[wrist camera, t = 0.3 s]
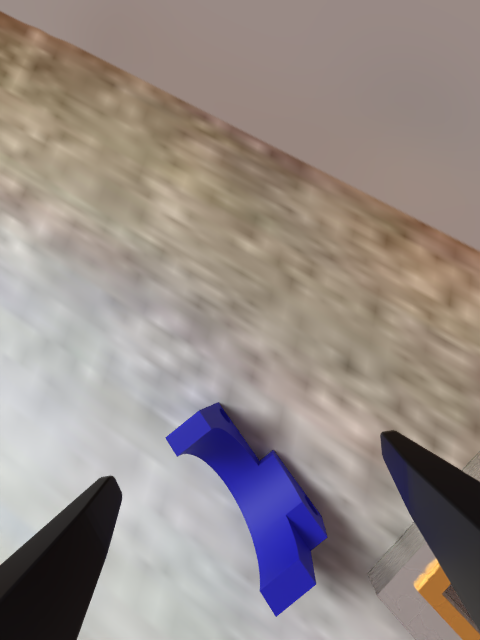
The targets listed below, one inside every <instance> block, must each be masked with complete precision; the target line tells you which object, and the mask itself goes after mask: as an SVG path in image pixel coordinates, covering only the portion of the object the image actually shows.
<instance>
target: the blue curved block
mask: <svg viewBox="0 0 480 640" xmlns="http://www.w3.org/2000/svg"><path fill="white" fill-rule="evenodd" d="M166 440H167V441H168V443H169V444H170V446H171V448H172V449H173V451H174V452H175V454H176V456H177V457H178V456H179V455H182V454H191V455H194V456H197V457H199V458H200V459H202V460H203V461H205V462H206V463H207V464H208V465H209V466H210V467H212V468H213V470H214V471H215V472H216V473H217V474H218V475H219V476H220V477H221V479H222V480H223V481H224V483H225V484H226V486H227V487H228V489H229V490H230V492H231V493H232V495H233V497H234V498H235V500H236V502H237V504H238V506H239V508H240V510H241V512H242V514H243V516H244V518H245V521H246V523H247V525H248V528H249V531H250V533H251V536H252V539H253V543H254V546H255V550H256V554H257V559H258V564H259V572H260V592H261V594H262V595H263V597H264V598H265V600H266V602H267V603H268V605H269V606H270V608H271V610H272V611H273V613H274V615H275V616H276V617H277V616H278V615H279V614H280V613H281V612H283V611H284V610H285V609H286V608H288V607H289V606H290V605H291V604H293V603H294V602H295V601H296V600H297V599H299V598H300V597H301V596H302V595H304V594H305V593H306V592H307V591H309V590H310V589H311V588H312V587H313V586H315V585H316V580H315V574H314V568H313V562H312V556H311V550H312V549H314V548H315V547H316V546H317V545H319V544H320V543H321V542H322V541H323V540H325V539H326V538H327V533H326V530H325V526H324V523H323V519H322V516H321V515H320V513H319V512H318V510H317V509H316V508H315V506H314V505H313V504H312V502H311V501H310V499H309V498H308V497H307V495H306V494H305V493H304V491H303V490H302V488H301V487H300V486H299V484H298V483H297V482H296V480H295V479H294V477H293V476H292V475H291V473H290V472H289V471H288V469H287V468H286V466H285V465H284V464H283V462H282V461H281V460H280V458H279V457H278V455H277V454H276V453H275V451H274V450H272V451H271V452H270V453H269V454H268V455H266V456H265V457H264V458H263V459H261V460H260V461H259V459H258V458H257V456H256V455H255V453H254V452H253V451H252V449H251V448H250V446H249V445H248V444H247V442H246V441H245V439H244V438H243V436H242V435H241V434H240V432H239V431H238V429H237V428H236V426H235V425H234V424H233V422H232V421H231V419H230V418H229V417H228V415H227V414H226V412H225V411H224V409H223V408H222V407H221V405H220V404H219V402H218V403H215V404H213V405H211V406H209V407H206V408H204V409H202V410H199V411H198V412H197V413H195V414H194V415H193V416H192V417H190V418H189V419H188V420H187V421H185V422H184V423H183V424H182V425H181V426H179V427H178V428H177V429H176V430H174V431H173V432H172V433H171V434H169V435H168V436H167V437H166Z"/></svg>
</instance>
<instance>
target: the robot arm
mask: <svg viewBox="0 0 480 640" xmlns="http://www.w3.org/2000/svg"><path fill="white" fill-rule="evenodd" d="M380 437H381V448H382V455H383V459H384V461H385V463H386V465H387V467H388V470H389V472H390V474H391V476H392V478H393V480H394V482H395V484H396V486H397V488H398V491H399V493H400V495H401V497H402V499H403V501H404V503H405V505H406V507H407V509H408V511H409V513H410V515H411V517H412V519H413V520H414V522H415V524H416V526H417V527H418V529H419V531H420V532H421V534H422V536H423V537H424V539H425V541H426V542H427V544H428V546H429V547H430V549H431V551H432V552H433V554H434V556H435V557H436V559H437V561H438V563H439V564H440V566H441V568H442V569H443V571H444V573H445V574H446V576H447V578H448V579H449V581H450V583H451V584H452V586H453V588H454V589H455V591H456V593H457V594H458V596H459V598H460V599H461V601H462V603H463V605H464V606H465V608H466V610H467V611H468V613H469V615H470V616H471V618H472V620H473V621H474V623H475V625H476V626H477V628H478V630H479V631H480V481H478V480H476V479H475V478H473V477H471V476H470V475H468V474H467V473H465V472H463V471H462V470H460V469H458V468H457V467H455V466H453V465H452V464H450V463H448V462H447V461H445V460H443V459H442V458H440V457H438V456H437V455H435V454H433V453H432V452H430V451H428V450H427V449H425V448H423V447H422V446H420V445H418V444H417V443H415V442H413V441H412V440H410V439H408V438H407V437H405V436H404V435H402V434H400V433H399V432H397V431H394V430H391V431H385V432H382V433H381V435H380ZM121 502H122V492H121V490H120V488H119V486H118V484H117V481H116V479H115V478H114V477H113V476H105V477H101V478H99V479H98V480H97V481H96V482H95V483H93V484H92V485H91V486H90V487H89V488H88V489H87V490H85V491H84V492H83V493H82V494H81V495H80V496H79V497H77V498H76V499H75V500H74V501H73V502H72V503H71V504H69V505H68V506H67V507H66V508H65V509H64V510H63V511H61V512H60V513H59V514H58V515H57V516H56V517H55V518H54V519H52V520H51V521H50V522H49V523H48V524H47V525H46V526H44V527H43V528H42V529H41V530H40V531H39V532H38V533H36V534H35V535H34V536H33V537H32V538H31V539H30V540H28V541H27V542H26V543H25V544H24V545H23V546H22V547H20V548H19V549H18V550H17V551H16V552H15V553H14V554H12V555H11V556H10V557H9V558H8V559H7V560H6V561H4V562H3V563H2V564H1V565H0V640H77V637H78V634H79V632H80V629H81V626H82V623H83V620H84V618H85V615H86V612H87V609H88V607H89V604H90V601H91V598H92V595H93V593H94V590H95V587H96V584H97V581H98V579H99V576H100V573H101V570H102V567H103V565H104V562H105V559H106V556H107V553H108V549H109V546H110V542H111V539H112V535H113V531H114V528H115V524H116V520H117V517H118V513H119V509H120V505H121Z"/></svg>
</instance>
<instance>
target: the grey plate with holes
mask: <svg viewBox="0 0 480 640" xmlns="http://www.w3.org/2000/svg"><path fill="white" fill-rule="evenodd" d="M462 471H463V472H465V473H467V474H468V475H470V476H471V477H473V478H475V479H476V480H478V481H480V452H479V453H478V454H477V455H476V456H475V457H474V458H473V459H472V461H471V462H470V463H469V464H468V465H467V466H466V467H465V468H464V469H463V470H462ZM368 576H369V578H370V581H371V583H372V585H373V588H374V590H375V592H376V594H377V596H378V597H379V598H380V600H381V601H382V602H383V603H384V604H385V605H386V606H387V607H388V609H389V610H390V611H391V612H392V613H393V614H394V615H395V617H396V618H397V619H398V620H399V621H400V622H401V623H402V625H403V626H404V627H405V628H406V629H407V630H408V631H409V632H410V634H411V635H412V636H413V637H414V638H415V639H416V640H480V631H479V630H478V628H477V626H476V625H475V623H474V622H473V621H472V620H471V619H470V618H469V617H468V616H467V614H466V613H465V612H464V611H463V610H462V609H461V608H460V607H459V606H458V605H457V604H456V603H455V602H454V601H453V600H452V599H451V598H450V597H449V596H448V595H447V593H446V592H445V590H446V589H447V588H448V586H449V585H450V584H451V583H450V581H449V579H448V578H447V576H446V574H445V573H444V571H443V569H442V568H441V566H440V564H439V563H438V561H437V559H436V557H435V556H434V554H433V552H432V551H431V549H430V547H429V546H428V544H427V542H426V541H425V539H424V537H423V536H422V534H421V532H420V531H419V529H418V527H417V526H416V524H415V523H414V524H413V525H412V526H411V527H410V528H409V529H408V530H407V531H406V533H405V534H404V535H403V536H402V537H401V538H400V539H399V540H398V541H397V542H396V543H395V545H394V546H393V547H392V548H391V549H390V550H389V551H388V552H387V553H386V554H385V556H384V557H383V558H382V559H381V560H380V561H379V562H378V563H377V564H376V565H375V566H374V568H373V569H372V570H371V571H370V572H369V573H368Z"/></svg>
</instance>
